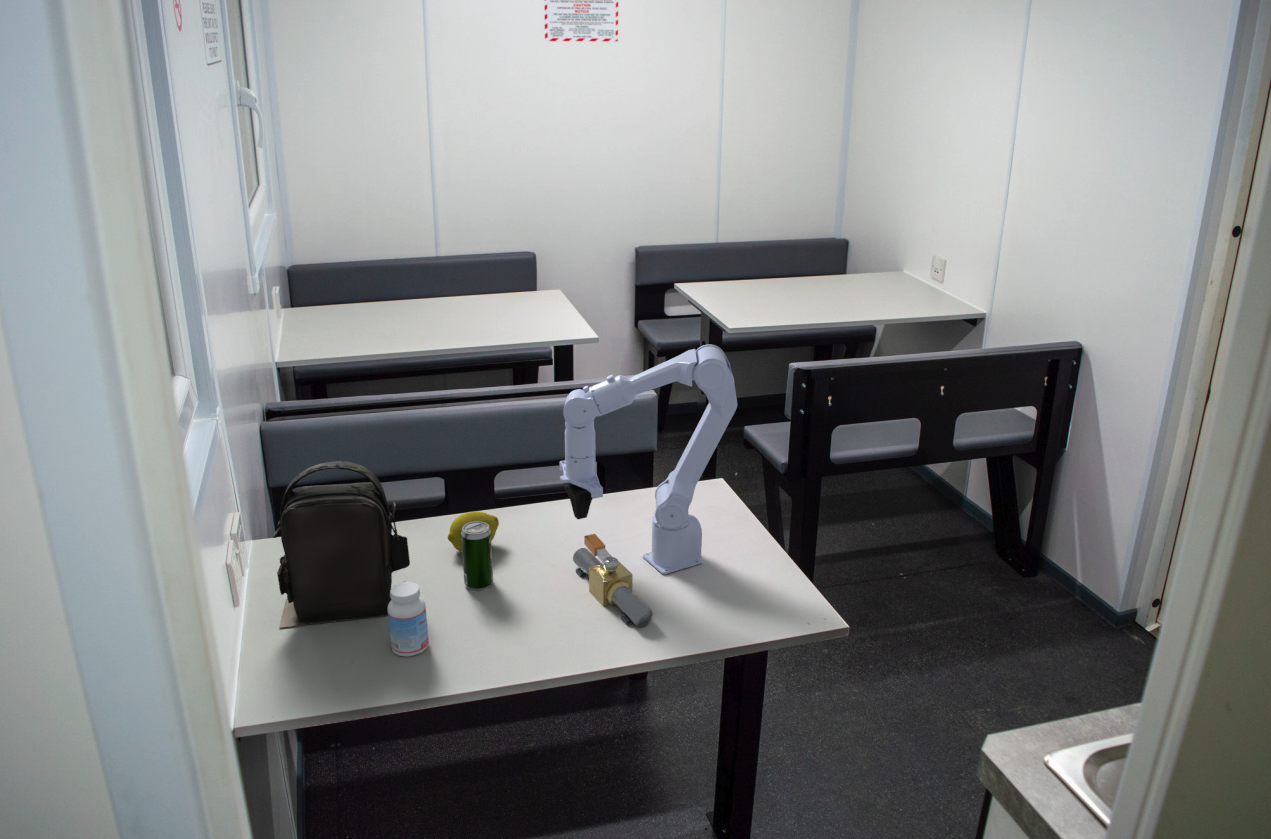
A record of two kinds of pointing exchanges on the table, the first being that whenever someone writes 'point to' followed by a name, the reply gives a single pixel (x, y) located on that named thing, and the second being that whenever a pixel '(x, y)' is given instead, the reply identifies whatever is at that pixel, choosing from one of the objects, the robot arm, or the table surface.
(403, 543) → the shoulder bag
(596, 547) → the valve lever
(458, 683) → the table surface
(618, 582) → the valve pipe
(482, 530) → the beer can
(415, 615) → the pill bottle
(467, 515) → the lemon
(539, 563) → the table surface
